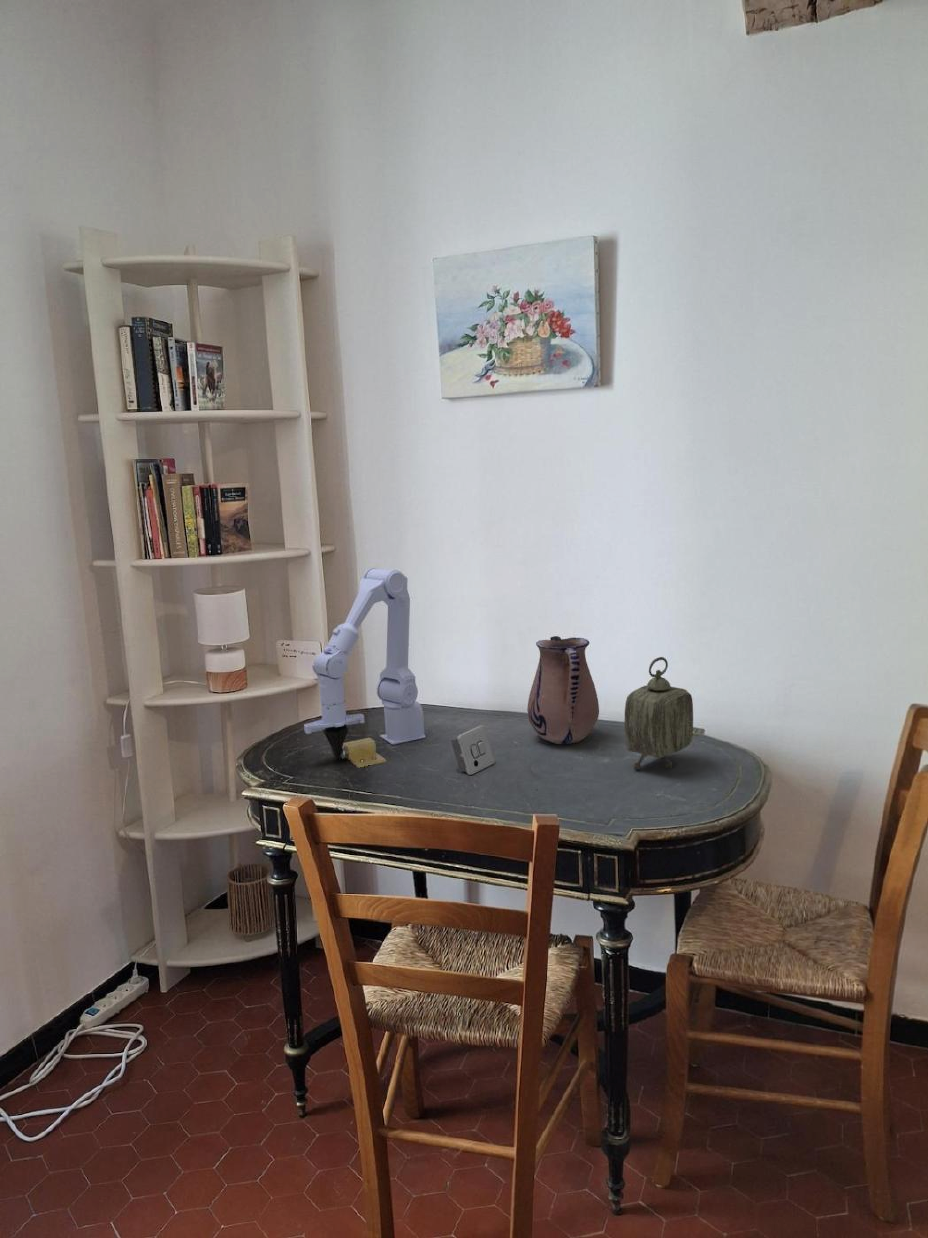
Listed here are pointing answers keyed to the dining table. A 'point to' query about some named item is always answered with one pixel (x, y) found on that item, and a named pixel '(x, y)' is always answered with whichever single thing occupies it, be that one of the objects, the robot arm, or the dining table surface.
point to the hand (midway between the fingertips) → (337, 756)
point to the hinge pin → (346, 752)
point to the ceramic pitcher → (563, 692)
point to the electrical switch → (473, 750)
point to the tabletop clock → (658, 718)
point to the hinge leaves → (363, 752)
